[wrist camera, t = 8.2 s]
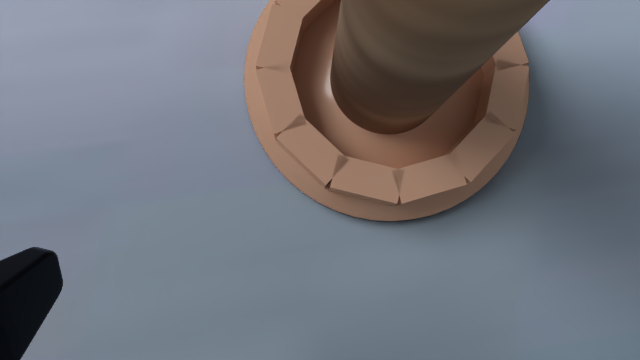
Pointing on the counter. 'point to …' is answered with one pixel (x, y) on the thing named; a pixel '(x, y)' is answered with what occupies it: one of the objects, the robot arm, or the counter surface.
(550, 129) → the counter surface
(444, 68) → the dowel
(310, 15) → the collar dish
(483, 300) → the counter surface
